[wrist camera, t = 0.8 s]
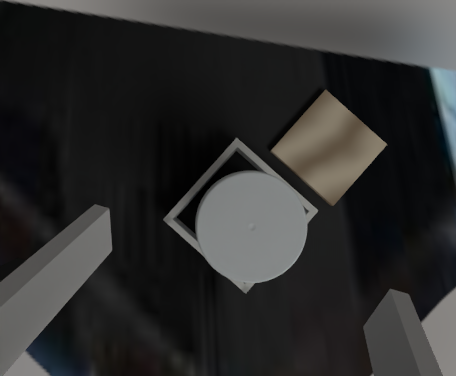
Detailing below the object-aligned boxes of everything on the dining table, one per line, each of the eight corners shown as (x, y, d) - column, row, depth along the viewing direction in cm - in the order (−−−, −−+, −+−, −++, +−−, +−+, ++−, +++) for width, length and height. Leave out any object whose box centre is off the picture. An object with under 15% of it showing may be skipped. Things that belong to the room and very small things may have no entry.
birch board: (270, 151, 37) (271, 150, 37) (323, 91, 38) (325, 89, 37) (330, 205, 37) (333, 205, 37) (383, 145, 38) (387, 144, 37)
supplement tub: (191, 198, 37) (171, 200, 22) (253, 165, 37) (274, 145, 23) (225, 262, 37) (227, 307, 22) (287, 228, 37) (330, 250, 22)
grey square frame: (167, 217, 37) (162, 219, 34) (235, 142, 37) (236, 137, 34) (243, 285, 37) (245, 293, 34) (310, 209, 37) (318, 210, 34)
